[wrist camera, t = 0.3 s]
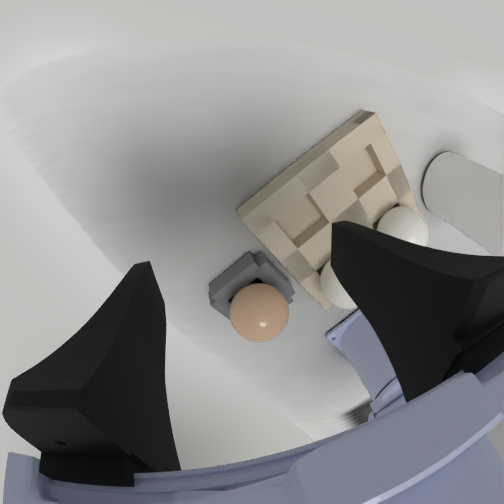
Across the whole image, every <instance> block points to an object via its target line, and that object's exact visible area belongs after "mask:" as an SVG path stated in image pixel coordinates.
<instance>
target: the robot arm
mask: <svg viewBox="0 0 504 504" xmlns="http://www.w3.org/2000/svg"><path fill="white" fill-rule="evenodd" d="M330 266H331V268H332V270H333V271H334V273H335V275H336V277H337V279H338V281H339V282H340V284H341V285H342V287H343V288H344V290H345V291H346V292H347V294H348V295H349V296H350V298H351V299H352V300H353V302H354V303H355V304H356V306H357V307H358V308H359V310H357V311H356V312H355V313H354V314H352V315H351V316H350V317H348V318H347V319H346V320H345V321H343V322H342V323H341V324H339V325H338V326H337V327H335V328H334V329H333V330H331V331H330V332H329V333H327V335H326V337H327V339H328V340H329V341H330V342H331V343H332V344H333V345H334V346H335V347H336V348H337V349H338V350H340V351H341V352H342V353H343V354H344V355H345V356H346V357H347V358H348V359H349V360H350V362H351V364H352V365H353V367H354V369H355V370H356V372H357V374H358V376H359V377H360V379H361V381H362V382H363V384H364V386H365V388H366V389H367V391H368V393H369V394H370V396H371V398H372V400H373V402H372V403H370V406H371V408H372V409H373V412H371V413H370V415H369V420H368V422H366V423H364V424H361V425H359V426H356V427H354V428H352V429H349V430H347V431H344V432H341V433H339V434H336V435H333V436H331V437H328V438H325V439H322V440H319V441H316V442H313V443H310V444H307V445H305V446H301V447H298V448H294V449H291V450H287V451H284V452H280V453H276V454H273V455H268V456H264V457H260V458H256V459H252V460H247V461H242V462H237V463H232V464H226V465H220V466H214V467H207V468H199V469H192V470H182V471H181V467H180V463H179V459H178V456H177V452H176V447H175V442H174V438H173V433H172V428H171V422H170V417H169V410H168V403H167V394H166V386H165V347H166V314H165V303H164V300H163V297H162V295H161V292H160V289H159V286H158V284H157V281H156V278H155V275H154V272H153V269H152V266H151V264H150V261H147V262H143V263H138V264H134V266H133V267H132V268H131V269H130V270H129V271H128V273H127V274H126V275H125V277H124V278H123V279H122V281H121V282H120V283H119V284H118V286H117V287H116V288H115V290H114V291H113V292H112V294H111V295H110V296H109V297H108V299H107V300H106V301H105V302H104V303H103V305H102V306H101V307H100V308H99V309H98V311H97V312H96V313H95V314H94V315H93V316H92V317H91V318H90V320H89V321H88V322H87V323H86V324H85V325H84V326H83V327H82V328H81V329H80V330H79V331H78V332H77V333H76V334H74V335H73V336H72V337H71V338H70V339H69V340H68V341H66V342H65V343H64V344H63V345H62V346H61V347H60V348H58V349H57V350H56V351H55V352H53V353H52V354H51V355H49V356H48V357H47V358H45V359H44V360H42V361H41V362H40V363H38V364H37V365H35V366H34V367H32V368H30V369H29V370H27V371H26V372H24V373H22V374H21V375H19V376H17V377H16V378H14V379H12V381H11V384H10V387H9V390H8V394H7V397H6V401H5V404H4V408H3V412H2V414H3V417H4V419H5V421H6V422H7V424H8V425H9V426H10V427H11V428H12V429H13V430H14V431H15V432H16V433H17V434H19V435H20V436H21V437H22V438H24V439H25V440H26V441H28V442H29V443H30V444H31V445H33V446H34V447H36V448H37V449H38V450H40V451H41V459H38V458H35V457H32V456H29V455H23V454H18V453H13V452H9V453H8V458H7V466H6V473H5V483H4V496H3V504H504V462H503V460H502V458H501V457H500V455H499V453H498V452H497V450H496V449H495V447H494V445H493V444H492V442H491V441H490V439H489V438H488V436H487V433H488V432H489V431H490V430H492V429H493V428H494V427H495V426H496V425H497V424H498V423H499V422H500V421H501V420H502V419H503V418H504V256H478V255H467V254H460V253H453V252H448V251H442V250H437V249H433V248H429V247H425V246H421V245H418V244H414V243H411V242H408V241H405V240H402V239H399V238H396V237H393V236H390V235H387V234H385V233H382V232H379V231H377V230H374V229H371V228H368V227H366V226H363V225H360V224H357V223H354V222H350V221H346V220H344V221H339V222H334V223H332V231H331V262H330Z"/></svg>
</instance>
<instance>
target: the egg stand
mask: <svg viewBox="0 0 504 504" xmlns="http://www.w3.org/2000/svg"><path fill="white" fill-rule="evenodd" d="M257 277H258V278H259V279H260V280H262V281H263V282H264V283H265V284H268V285H271V286H273V287H275V288H276V289H278V290H279V291H280V292H281V293H282V294H283V295H284V297H285V299H286V301H287V303H288V305H289V304H290V303H291V302H293V299H292V297H291V296H292V295H293V294H294V293H295V291H294V289H293V287H292V286H291V284H290V282H289V281H288V280H287V279H286V278H285V277H284V276H283V275H282V274H281V272H280V271H279V270H278V269H277V268H276V267H275V266H274V265H273V264H272V263H271V262H270V261H269V260H268V259H267V258H266V257H265V256H264V255H263V254H262V253H261V252H259V253H257V254H256V255H255V256H253V255H252V253H251V252H250V251H249V252H248V253H247V254H245V255H244V256H243V257H242V258H241V259H239V260H238V261H237V262H236V263H234V264H233V265H232V266H231V267H230V268H228V269H227V270H226V271H225V272H223V273H222V274H221V275H220V276H218V277H217V278H216V279H215V280H214V281H212V282H211V283H210V284H209V288H210V292H209V299H210V304H211V306H212V307H213V308H215V309H216V310H217V311H219V312H220V313H221V314H223V315H224V316H225V317H227V318H228V319H229V320H230V315H229V314H230V305H231V302H232V300H233V298H234V295H235V294H237V293H238V292H239V291H240V290H241V289H242V288H244V287H245V286H247V285H248V284H249V283H251V282H252V281H253V280H254V279H256V278H257Z"/></svg>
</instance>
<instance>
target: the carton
mask: <svg viewBox="0 0 504 504" xmlns="http://www.w3.org/2000/svg"><path fill="white" fill-rule="evenodd" d="M400 206H404V207H409V208H412V209H414V210H416V211H417V212H419V211H418V208H417V205H416V202H415V199H414V197H413V194H412V191H411V189H410V186H409V184H408V181H407V179H406V176H405V174H404V171H403V169H402V167H401V164H400V162H399V160H398V157H397V155H396V153H395V151H394V149H393V146H392V144H391V142H390V140H389V138H388V136H387V134H386V132H385V130H384V128H383V126H382V124H381V122H380V120H379V118H378V116H377V114H376V113H374V112H368V111H360V112H359V113H358V114H356V115H355V116H354V117H352V118H351V119H350V120H348V121H347V122H346V123H344V124H343V125H342V126H340V127H339V128H338V129H336V130H335V131H334V132H333V133H331V134H330V135H329V136H327V137H326V138H325V139H323V140H322V141H321V142H320V143H318V144H317V145H316V146H314V147H313V148H312V149H311V150H309V151H308V152H307V153H305V154H304V155H303V156H302V157H300V158H299V159H298V160H297V161H295V162H294V163H293V164H292V165H290V166H289V167H288V168H287V169H285V170H284V171H283V172H282V173H280V174H279V175H278V176H277V177H275V178H274V179H273V180H272V181H270V182H269V183H268V184H267V185H266V186H264V187H263V188H262V189H261V190H260V191H258V192H257V193H256V194H255V195H253V196H252V197H251V198H250V199H249V200H247V201H246V202H245V203H244V204H243V205H241V206H240V207H239V208H238V209H237V210H236V211H237V213H238V215H239V217H240V219H241V221H242V222H243V223H244V224H245V225H246V226H247V227H248V228H249V229H250V230H251V231H252V232H253V234H254V235H255V236H256V237H257V238H258V239H259V240H260V241H261V242H262V243H263V244H264V245H265V246H266V247H267V249H268V250H269V251H270V252H271V253H272V254H273V255H274V256H275V257H276V258H277V259H278V260H279V261H280V262H281V264H282V265H283V266H284V267H285V268H286V269H287V270H288V271H289V272H290V273H291V274H292V275H293V277H294V278H295V279H296V280H297V281H298V282H299V283H300V284H301V285H302V286H303V287H304V288H305V290H306V291H307V292H308V293H309V294H310V295H311V296H312V297H313V298H314V299H315V300H316V302H317V303H318V304H319V305H320V306H321V307H322V308H323V309H324V310H325V311H326V310H328V309H329V308H330V307H332V306H333V305H332V304H331V303H329V302H328V301H327V300H326V298H325V297H324V295H323V293H322V290H321V286H320V276H321V272H322V270H323V268H324V266H325V264H326V263H327V262H328V261H329V260H330V259H331V231H332V223H334V222H339V221H344V220H346V221H350V222H354V223H357V224H360V225H363V226H366V227H368V228H371V229H374V230H377V226H378V223H379V221H380V219H381V217H382V216H383V215H384V214H385V213H386V212H387V211H389V210H390V209H392V208H395V207H400Z"/></svg>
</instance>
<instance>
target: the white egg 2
mask: <svg viewBox="0 0 504 504" xmlns="http://www.w3.org/2000/svg"><path fill="white" fill-rule="evenodd" d="M377 231H379V232H382V233H385V234H387V235H390V236H393V237H396V238H399V239H402V240H405V241H408V242H411V243H414V244H418V245H421V246H425V247H426V246H427V244H428V239H429V230H428V226H427V223H426V221H425V219H424V218H423V217H422V215H421V214H420V213H419V212H417V211H416V210H414V209H412V208H409V207H404V206H400V207H395V208H392V209H390V210H389V211H387V212H386V213H385V214H384V215H383V216H382V217H381V219H380V221H379V223H378V226H377Z"/></svg>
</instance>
